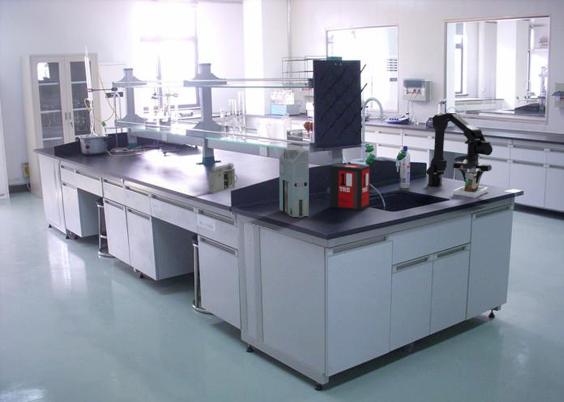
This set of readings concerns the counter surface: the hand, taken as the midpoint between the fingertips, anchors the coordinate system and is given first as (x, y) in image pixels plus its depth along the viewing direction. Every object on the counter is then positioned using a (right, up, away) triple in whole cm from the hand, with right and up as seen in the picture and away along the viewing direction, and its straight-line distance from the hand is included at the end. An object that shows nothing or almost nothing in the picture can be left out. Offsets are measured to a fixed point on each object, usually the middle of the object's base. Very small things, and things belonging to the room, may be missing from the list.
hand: (471, 182), depth 331 cm
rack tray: (0, -6, +1) cm, 6 cm away
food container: (-1, -5, +2) cm, 5 cm away
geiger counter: (-131, -3, +18) cm, 132 cm away
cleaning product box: (-67, -13, -28) cm, 73 cm away
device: (-94, -16, -40) cm, 103 cm away
